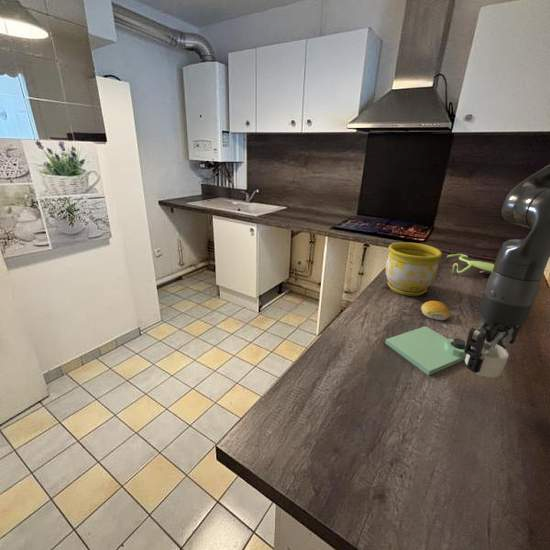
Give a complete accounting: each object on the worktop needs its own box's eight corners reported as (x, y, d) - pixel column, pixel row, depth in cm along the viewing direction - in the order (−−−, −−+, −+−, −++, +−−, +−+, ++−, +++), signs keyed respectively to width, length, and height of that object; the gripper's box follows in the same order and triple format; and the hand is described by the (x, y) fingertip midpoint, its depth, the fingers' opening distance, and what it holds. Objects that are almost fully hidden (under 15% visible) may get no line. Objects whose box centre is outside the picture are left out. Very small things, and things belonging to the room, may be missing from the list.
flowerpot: (377, 278, 123) (383, 241, 116) (421, 280, 121) (430, 243, 115) (388, 298, 106) (396, 255, 100) (439, 301, 105) (451, 258, 98)
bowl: (476, 354, 66) (482, 336, 64) (507, 373, 60) (515, 353, 58) (457, 363, 63) (463, 344, 61) (488, 382, 58) (496, 362, 56)
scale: (425, 329, 88) (427, 321, 87) (472, 357, 76) (476, 348, 75) (385, 343, 81) (386, 334, 80) (429, 376, 69) (432, 366, 68)
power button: (456, 342, 78) (457, 337, 77) (466, 347, 75) (468, 343, 75) (449, 344, 77) (450, 339, 76) (459, 350, 74) (461, 345, 74)
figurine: (445, 261, 144) (448, 250, 142) (512, 272, 131) (516, 260, 129) (443, 273, 129) (446, 261, 127) (518, 287, 117) (523, 274, 115)
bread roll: (445, 309, 99) (448, 299, 97) (450, 323, 91) (453, 312, 90) (419, 305, 102) (421, 295, 100) (421, 318, 94) (424, 307, 92)
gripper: (507, 312, 49) (480, 388, 56) (552, 296, 55) (522, 366, 61) (464, 294, 55) (444, 364, 62) (508, 281, 61) (485, 346, 67)
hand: (483, 365), depth 62 cm, fingers closed on bowl, 6 cm apart
